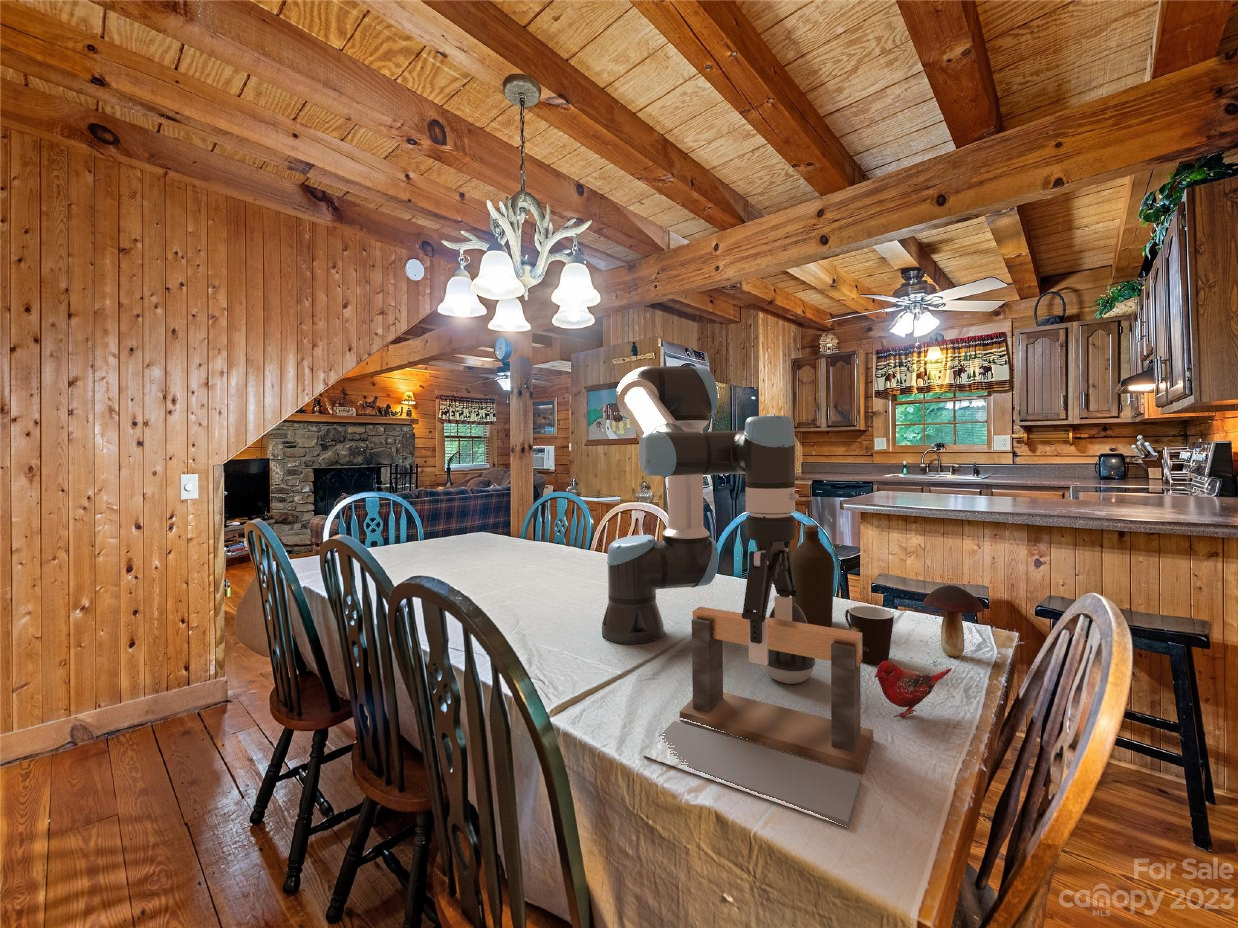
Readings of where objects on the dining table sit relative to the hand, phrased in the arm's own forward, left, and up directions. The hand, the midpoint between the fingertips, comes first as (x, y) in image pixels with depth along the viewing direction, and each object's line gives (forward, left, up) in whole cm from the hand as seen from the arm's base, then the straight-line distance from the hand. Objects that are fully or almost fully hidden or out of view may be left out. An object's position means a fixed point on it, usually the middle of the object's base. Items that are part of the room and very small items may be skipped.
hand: (771, 648), depth 84 cm
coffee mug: (+9, +39, -13) cm, 42 cm away
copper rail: (0, 0, 0) cm, 0 cm away
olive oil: (-6, +54, -13) cm, 56 cm away
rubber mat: (0, -12, -13) cm, 18 cm away
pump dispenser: (-3, +20, -13) cm, 24 cm away
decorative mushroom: (+24, +48, -13) cm, 55 cm away
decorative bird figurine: (+19, +17, -13) cm, 29 cm away
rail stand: (0, 0, -13) cm, 13 cm away
